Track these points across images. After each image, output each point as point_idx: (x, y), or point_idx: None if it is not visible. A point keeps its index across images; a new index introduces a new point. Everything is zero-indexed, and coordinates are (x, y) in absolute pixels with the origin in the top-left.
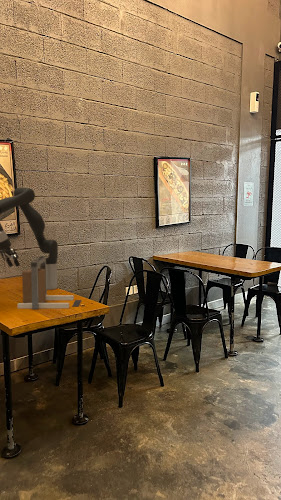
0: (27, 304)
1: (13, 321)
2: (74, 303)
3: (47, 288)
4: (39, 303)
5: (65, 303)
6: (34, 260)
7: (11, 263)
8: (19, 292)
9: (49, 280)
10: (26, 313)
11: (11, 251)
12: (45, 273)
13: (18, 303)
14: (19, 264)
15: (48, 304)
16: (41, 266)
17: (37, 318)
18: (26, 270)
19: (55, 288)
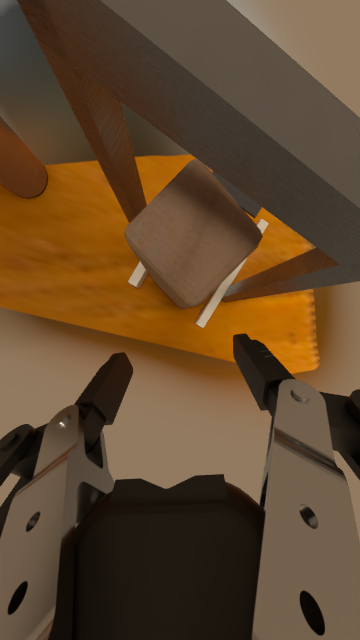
0: (214, 308)
1: (284, 358)
2: (236, 200)
3: (38, 189)
4: (227, 282)
5: (261, 228)
6: (328, 176)
7: (116, 368)
8: (38, 276)
9: (9, 152)
10: (247, 322)
11: None
12: (136, 168)
13: (199, 325)
14: (246, 336)
15: (241, 266)
16: (107, 135)
17: (292, 314)
18: (200, 280)
19: (42, 165)
